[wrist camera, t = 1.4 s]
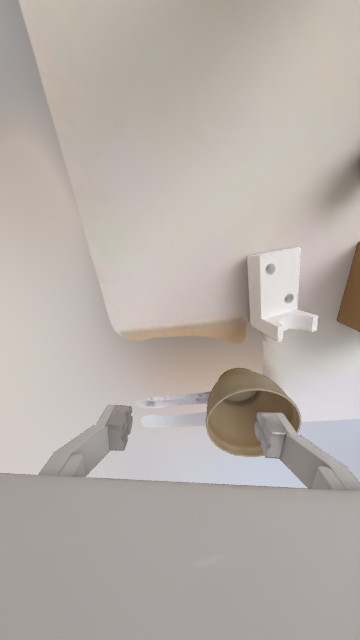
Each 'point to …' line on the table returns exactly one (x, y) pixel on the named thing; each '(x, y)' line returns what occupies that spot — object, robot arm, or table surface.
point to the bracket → (277, 293)
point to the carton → (352, 296)
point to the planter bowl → (244, 410)
